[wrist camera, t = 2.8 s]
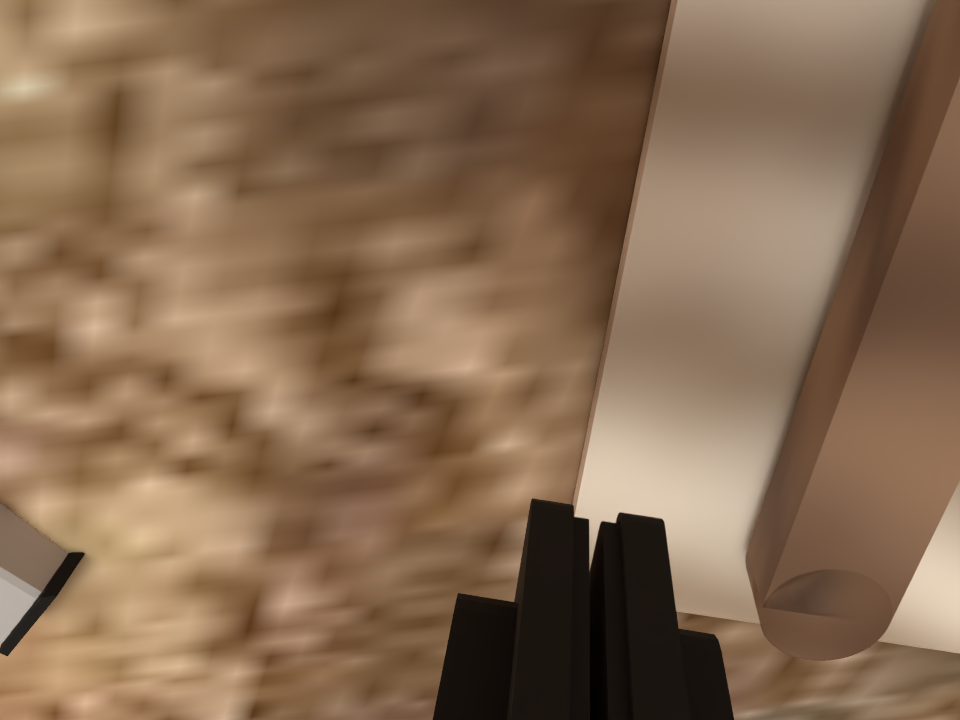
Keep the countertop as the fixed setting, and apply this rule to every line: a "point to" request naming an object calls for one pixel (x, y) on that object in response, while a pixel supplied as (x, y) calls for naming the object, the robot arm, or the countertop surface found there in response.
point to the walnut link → (875, 393)
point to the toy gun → (27, 576)
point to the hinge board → (745, 282)
